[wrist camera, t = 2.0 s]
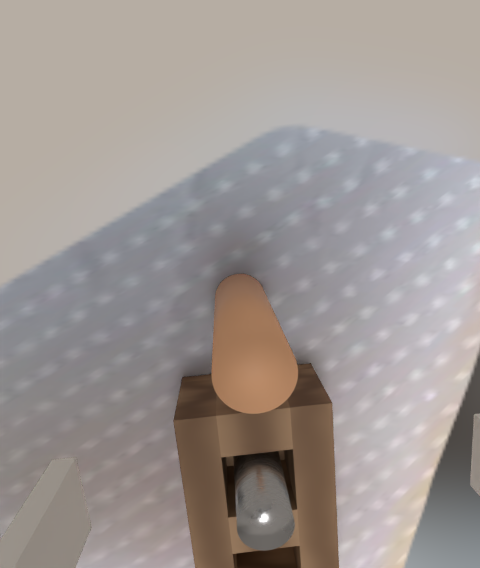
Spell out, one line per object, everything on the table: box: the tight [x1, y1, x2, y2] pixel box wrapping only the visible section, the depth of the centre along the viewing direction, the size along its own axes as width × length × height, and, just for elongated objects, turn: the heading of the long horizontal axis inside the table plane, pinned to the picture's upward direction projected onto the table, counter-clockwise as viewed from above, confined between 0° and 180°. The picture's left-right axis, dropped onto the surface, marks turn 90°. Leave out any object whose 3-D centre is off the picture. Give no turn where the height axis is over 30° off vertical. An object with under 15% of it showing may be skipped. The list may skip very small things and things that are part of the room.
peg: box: [212, 274, 298, 414], centre depth 27 cm, size 4×4×15 cm
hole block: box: [173, 363, 339, 568], centre depth 35 cm, size 12×22×7 cm, turn 5°
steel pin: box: [233, 451, 295, 551], centre depth 31 cm, size 4×4×10 cm
